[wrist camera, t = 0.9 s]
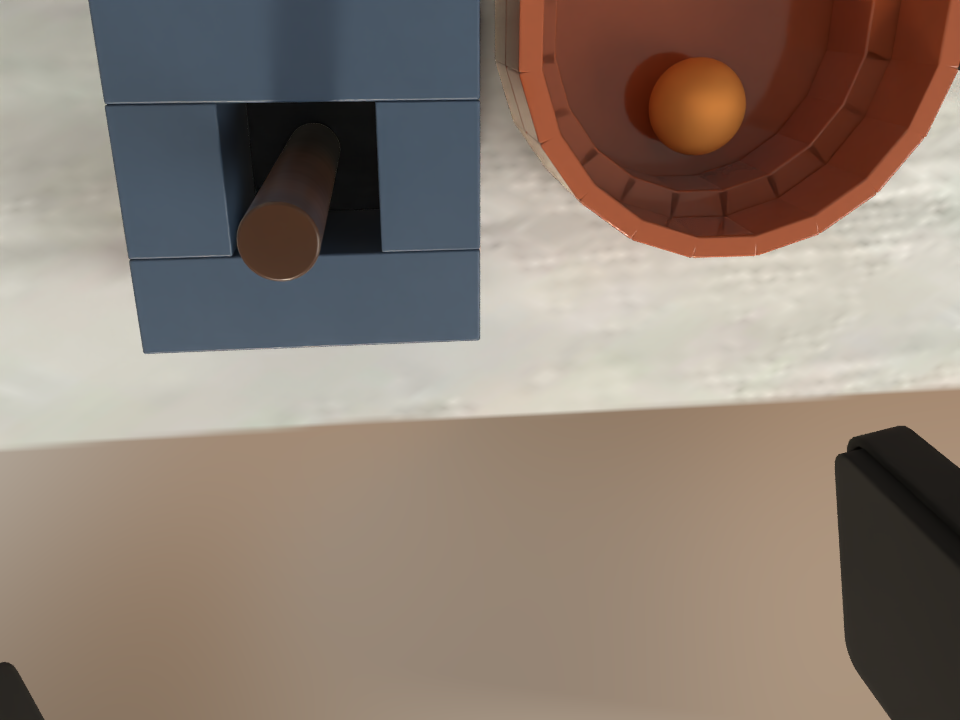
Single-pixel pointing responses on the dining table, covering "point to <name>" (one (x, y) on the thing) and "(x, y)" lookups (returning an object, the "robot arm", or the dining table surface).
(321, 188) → the stick
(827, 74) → the bowl
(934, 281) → the dining table surface
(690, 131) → the ball
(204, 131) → the holder
